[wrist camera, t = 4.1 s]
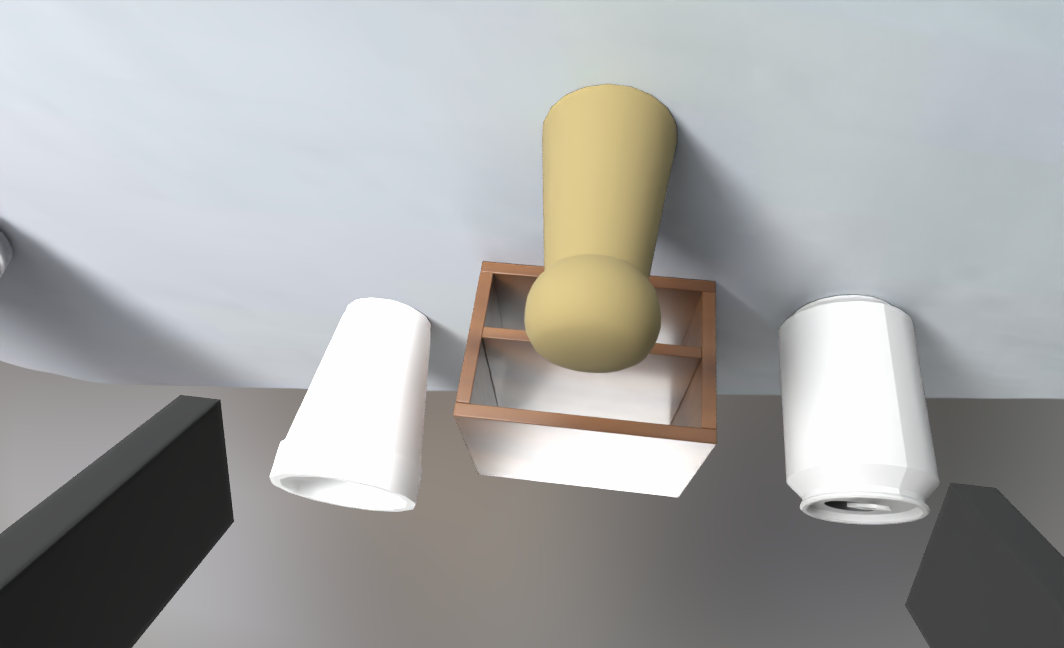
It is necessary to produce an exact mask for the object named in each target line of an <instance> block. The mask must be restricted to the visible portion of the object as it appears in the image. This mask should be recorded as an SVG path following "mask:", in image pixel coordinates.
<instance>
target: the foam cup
mask: <svg viewBox="0 0 1064 648" xmlns="http://www.w3.org/2000/svg"><path fill="white" fill-rule="evenodd" d="M430 329H431V324H430V322H429V321H428V319H427V318H426V316H425V315H423V314H422V313H420V312H419V311H417V310H415V309H414V308H412V307H410V306H408V305H405V304H402V303H399V302H396V301H393V300H386V299H378V298H366V299H358V300H355V301H354V302H352V303H351V304H349V305H348V306H347V309H346V312H345V313H344V314H343V316H342V318H341V320H340V323H339V325H338V327H337V329H336V331H335V333H334V336H333V338H332V340H331V342H330V344H329V346H328V348H327V351H326V353H325V355H324V357H323V359H322V361H321V363H320V366H319V368H318V370H317V372H316V374H315V376H314V379H313V381H312V383H311V385H310V387H309V389H308V391H307V394H306V396H305V398H304V400H303V402H302V404H301V407H300V409H299V411H298V413H297V415H296V418H295V419H294V422H293V424H292V426H291V428H290V431H289V432H288V434H287V437H286V439H285V440H283V441H281V443H280V445H279V449H278V452H277V455H276V458H275V462H274V465H273V468H272V471H271V474H270V480H271V482H272V484H273V485H275V486H277V487H279V488H281V489H283V490H285V491H287V492H290V493H293V494H296V495H299V496H302V497H306V498H309V499H312V500H315V501H320V502H325V503H329V504H334V505H339V506H343V507H351V508H358V509H365V510H372V511H394V512H399V511H405V510H412V509H413V508H414V506H415V504H416V500H417V495H418V491H419V485H420V481H421V476H422V471H423V468H422V467H421V466H420V464H421V451H422V439H423V427H424V413H425V402H426V389H427V377H428V364H429V352H430V339H431V332H430Z"/></svg>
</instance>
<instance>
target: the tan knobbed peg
mask: <svg viewBox="0 0 1064 648" xmlns="http://www.w3.org/2000/svg"><path fill="white" fill-rule="evenodd" d="M677 139H678V138H677V129H676V122H675V120H674V119H673V117H672V115H671V114H670V112H669V110H668V108H667V107H666V106H664V105H663V104H662V103H661V102H659V101H658V100H657V99H656V98H655V97H653V96H652V95H650V94H648V93H645V92H643V91H640V90H638V89H635V88H633V87H628V86H620V85H612V84H604V85H597V86H589V87H584V88H582V89H579V90H577V91H575V92H572V93H570V94H567V95H565V96H564V97H563V98H562V99H561V100H559V101H558V102H557V103H556V104H555V105H554V106H552V107H551V109H550V111H549V113H548V115H547V116H546V118H545V120H544V123H543V135H542V147H543V218H544V272H543V273H541V274H540V275H539V277H538V278H537V279H536V281H535V282H534V283H533V285H532V287H531V289H530V292H529V294H528V296H527V301H526V307H525V318H524V321H525V329H526V334H527V336H528V338H529V340H530V342H531V344H532V345H533V347H534V349H535V351H536V352H537V353H538V354H540V355H541V356H542V357H544V358H545V359H546V360H548V361H550V362H551V363H554V364H556V365H558V366H560V367H563V368H566V369H570V370H574V371H579V372H586V373H609V372H617V371H621V370H623V369H626V368H629V367H632V366H635V365H637V364H638V363H640V362H641V361H643V360H644V359H645V358H646V357H647V356H648V354H649V353H650V352H651V350H652V349H653V347H654V345H655V343H656V341H657V338H658V335H659V332H660V329H661V310H660V305H659V301H658V297H657V293H656V289H655V288H654V287H653V286H652V284H651V283H650V282H649V276H650V271H651V266H652V261H653V256H654V251H655V246H656V241H657V236H658V232H659V227H660V222H661V217H662V212H663V207H664V202H665V197H666V192H667V188H668V183H669V178H670V173H671V168H672V163H673V158H674V153H675V148H676V144H677Z"/></svg>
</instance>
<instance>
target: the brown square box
mask: <svg viewBox="0 0 1064 648" xmlns="http://www.w3.org/2000/svg"><path fill="white" fill-rule="evenodd" d="M543 272H544V267H543V266H531V265H519V264H508V263H496V262H484V261H483V262H482V267H481V273H480V277H479V282H478V288H477V293H476V298H475V303H474V308H473V314H472V319H471V324H470V329H469V335H468V340H467V345H466V350H465V355H464V361H463V366H462V371H461V376H460V381H459V387H458V392H457V397H456V403H455V408H454V413H453V416H454V418H455V420H456V423H457V425H458V428H459V430H460V432H461V435H462V437H463V440H464V442H465V445H466V447H467V449H468V452H469V454H470V457H471V459H472V461H473V464H474V466H475V469H476V471H477V473H478V474H482V475H491V476H499V477H509V478H516V479H525V480H534V481H542V482H551V483H559V484H568V485H577V486H585V487H594V488H603V489H612V490H620V491H628V492H637V493H646V494H654V495H663V496H671V497H679V496H680V495H681V493H682V492H683V491H684V489H685V488H686V486H687V485H688V484H689V482H690V481H691V479H692V478H693V476H694V475H695V474H696V472H697V471H698V469H699V468H700V467H701V465H702V464H703V462H704V461H705V460H706V458H707V457H708V455H709V454H710V453H711V451H712V450H713V448H714V447H715V445H716V444H717V431H716V429H717V391H716V294H715V293H716V282H715V281H705V280H694V279H682V278H671V277H659V276H649V282H650V283H651V284H652V286H653V287H654V288H655V289H656V293H657V297H658V301H659V305H660V310H661V329H660V332H659V335H658V338H657V341H656V343H655V345H654V347H653V349H652V350H651V352H650V353H649V354H648V356H647V357H646V358H645V359H644V360H643V361H641V362H640V363H638V364H637V365H635V366H632V367H629V368H626V369H623V370H621V371H617V372H609V373H586V372H579V371H574V370H570V369H566V368H563V367H560V366H558V365H556V364H554V363H551V362H550V361H548V360H546V359H545V358H544V357H542V356H541V355H540V354H538V353H537V352H536V351H535V349H534V347H533V345H532V344H531V342H530V340H529V338H528V336H527V334H526V329H525V321H524V318H525V307H526V301H527V296H528V294H529V292H530V289H531V287H532V285H533V283H534V282H535V281H536V279H537V278H538V277H539V275H540V274H541V273H543Z"/></svg>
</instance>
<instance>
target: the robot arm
mask: <svg viewBox="0 0 1064 648" xmlns="http://www.w3.org/2000/svg"><path fill="white" fill-rule="evenodd" d="M12 256H13V250H12V247H11V245H10V243H9V241H8V239H7V238H6V237H5V235H4V234H3V233H2V232H1V231H0V278H1V276H2V274H3V273H4V271H5V269H6V268H7V266H8V264H9V263H10V261H11V259H12ZM233 522H234V519H233V510H232V501H231V492H230V484H229V474H228V465H227V457H226V447H225V438H224V430H223V420H222V411H221V403H220V400H217V399H210V398H201V397H192V396H183V395H180V396H179V397H177V398H176V399H175V400H173V401H172V402H171V403H170V404H168V405H167V406H166V407H165V408H163V409H162V410H161V411H160V412H158V413H157V414H155V415H154V416H153V417H151V418H150V419H149V420H147V421H146V422H145V423H144V424H142V425H141V426H140V427H138V428H137V429H136V430H135V431H133V432H132V433H131V434H129V435H128V436H127V437H125V438H124V439H123V440H121V441H120V442H119V443H118V444H116V445H115V446H114V447H112V448H111V449H110V450H108V451H107V452H106V453H105V454H103V455H102V456H101V457H99V458H98V459H97V460H96V461H94V462H93V463H92V464H91V465H89V466H88V467H86V468H85V469H84V470H83V471H81V472H80V473H79V474H77V475H76V476H75V477H73V478H72V479H71V480H70V481H68V482H67V483H66V484H65V485H63V486H62V487H60V488H59V489H58V490H57V491H55V492H54V493H53V494H51V495H50V496H49V497H47V498H46V499H45V500H44V501H42V502H41V503H40V504H38V505H37V506H36V507H35V508H33V509H32V510H31V511H29V512H28V513H27V514H25V515H24V516H23V517H21V518H20V519H19V520H18V521H16V522H15V523H14V524H12V525H11V526H10V527H8V528H7V529H6V530H5V531H3V532H2V533H1V534H0V648H132V647H133V645H134V644H135V643H136V642H137V641H138V639H139V638H140V637H141V635H142V634H143V633H144V632H145V631H146V629H147V628H148V627H149V626H150V624H151V623H152V622H153V621H154V619H155V618H156V617H157V616H158V615H159V613H160V612H161V611H162V610H163V608H164V607H165V606H166V605H167V603H168V602H169V601H170V600H171V599H172V597H173V596H174V595H175V594H176V592H177V591H178V590H179V589H180V587H181V586H182V585H183V584H184V583H185V581H186V580H187V579H188V578H189V576H190V575H191V574H192V573H193V571H194V570H195V569H196V568H197V566H198V565H199V564H200V563H201V561H202V560H203V559H204V558H205V557H206V555H207V554H208V553H209V552H210V550H211V549H212V548H213V546H214V545H215V544H216V543H217V542H218V540H219V539H220V538H221V537H222V535H223V534H224V533H225V532H226V531H227V529H228V528H229V527H230V526H231V524H232V523H233ZM905 606H906V607H907V609H908V611H909V613H910V614H911V616H912V618H913V620H914V621H915V623H916V625H917V626H918V628H919V630H920V631H921V633H922V635H923V636H924V638H925V640H926V641H927V643H928V645H929V647H930V648H1064V557H1063V556H1062V555H1061V554H1060V553H1059V552H1058V551H1057V550H1056V549H1055V548H1054V547H1053V546H1052V545H1051V544H1050V543H1049V542H1048V541H1047V540H1046V539H1045V538H1044V537H1043V536H1042V535H1041V534H1040V532H1039V531H1038V530H1037V529H1036V528H1035V527H1034V526H1033V525H1032V524H1031V523H1030V522H1029V521H1028V520H1027V519H1026V518H1025V517H1024V516H1023V515H1022V514H1021V513H1020V512H1019V511H1018V510H1017V509H1016V508H1015V507H1014V506H1013V505H1012V504H1011V503H1010V502H1009V501H1008V500H1007V499H1006V498H1005V497H1004V496H1003V495H1002V494H1001V493H1000V492H999V491H998V490H997V489H996V488H991V487H981V486H973V485H964V484H956V483H950V486H949V489H948V491H947V494H946V497H945V499H944V502H943V505H942V508H941V510H940V513H939V515H938V518H937V521H936V523H935V526H934V529H933V532H932V534H931V537H930V540H929V542H928V545H927V548H926V550H925V553H924V556H923V558H922V561H921V564H920V567H919V569H918V572H917V575H916V577H915V580H914V583H913V585H912V588H911V591H910V593H909V596H908V599H907V602H906V604H905Z"/></svg>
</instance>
